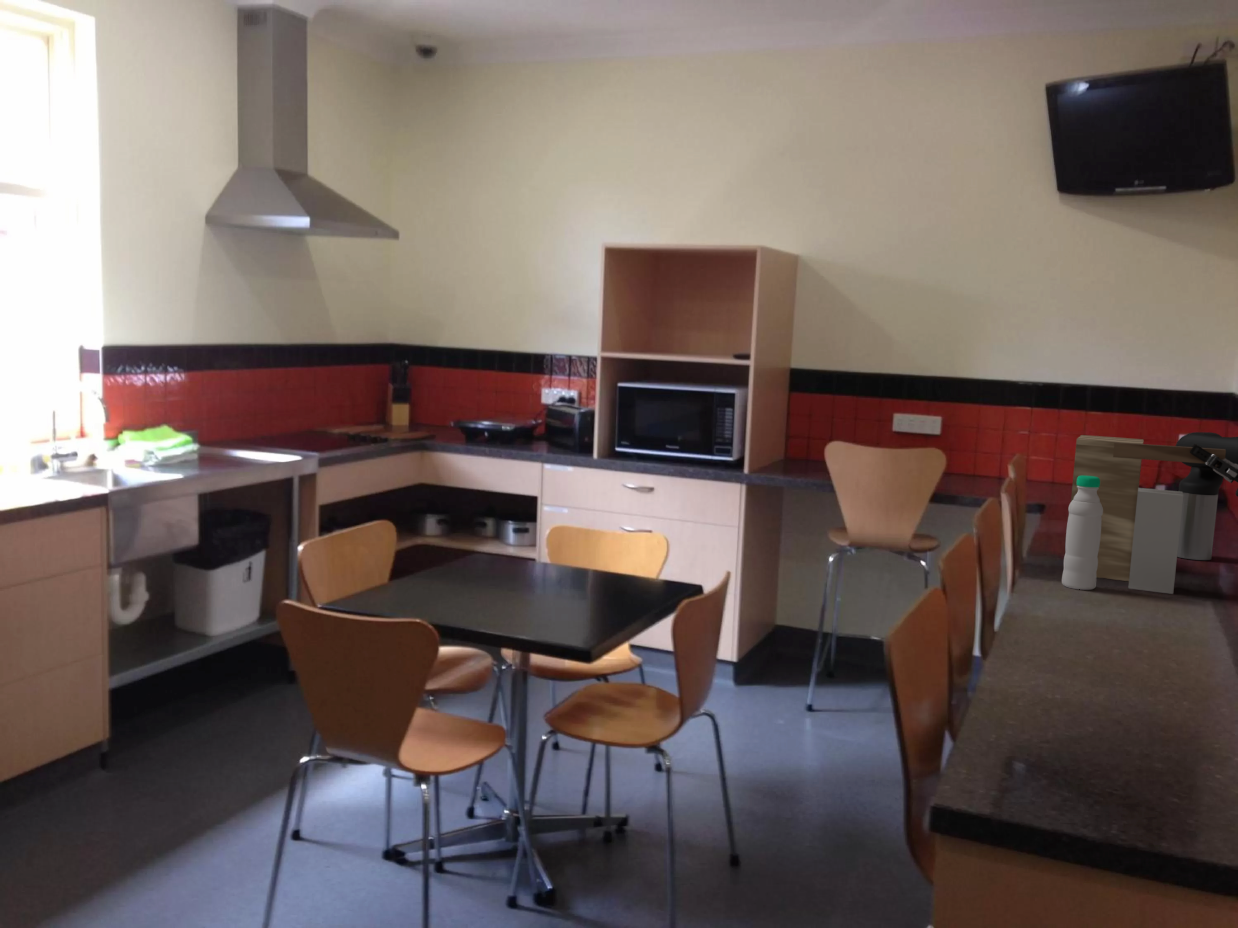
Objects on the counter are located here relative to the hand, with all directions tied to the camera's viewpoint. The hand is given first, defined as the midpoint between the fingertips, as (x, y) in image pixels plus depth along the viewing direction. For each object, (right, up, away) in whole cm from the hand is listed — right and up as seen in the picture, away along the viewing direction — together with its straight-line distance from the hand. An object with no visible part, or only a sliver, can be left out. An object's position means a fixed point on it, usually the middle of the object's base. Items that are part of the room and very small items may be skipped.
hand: (1192, 448), depth 238 cm
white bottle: (-24, -31, +4) cm, 39 cm away
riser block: (-6, -32, +6) cm, 33 cm away
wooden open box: (-10, -29, +24) cm, 39 cm away
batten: (-4, -3, +2) cm, 6 cm away
